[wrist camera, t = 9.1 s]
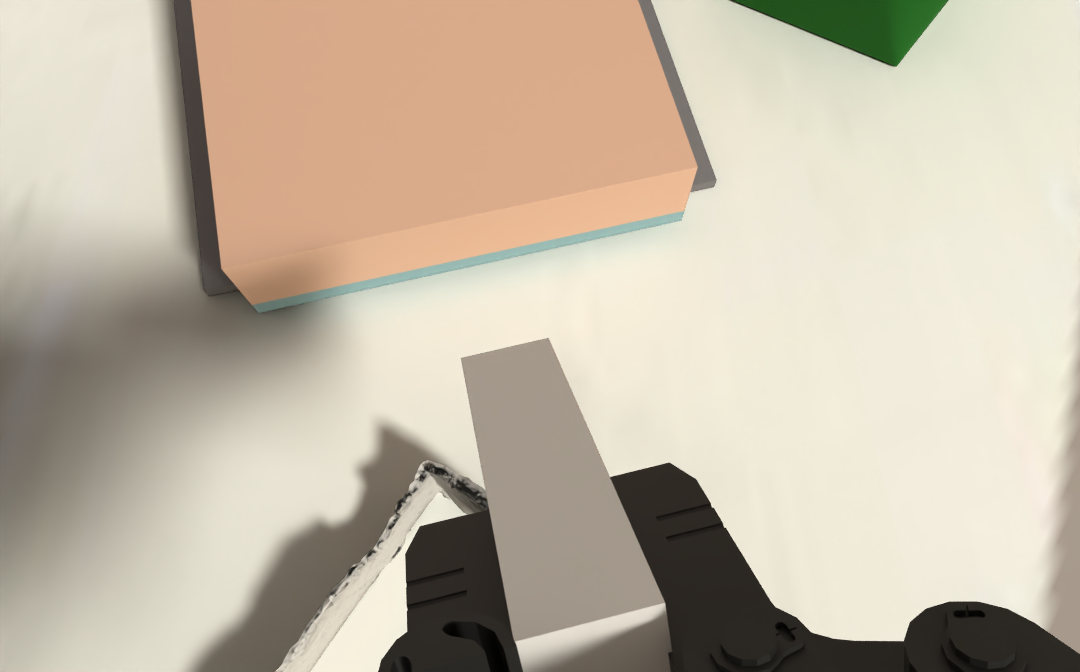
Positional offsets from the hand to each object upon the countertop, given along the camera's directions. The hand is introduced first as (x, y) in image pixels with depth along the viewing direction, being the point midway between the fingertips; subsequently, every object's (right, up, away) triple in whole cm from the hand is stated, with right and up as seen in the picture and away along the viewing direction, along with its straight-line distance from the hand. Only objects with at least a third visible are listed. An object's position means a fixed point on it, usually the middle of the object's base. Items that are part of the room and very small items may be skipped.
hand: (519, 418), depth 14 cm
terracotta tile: (-2, +4, +9) cm, 10 cm away
